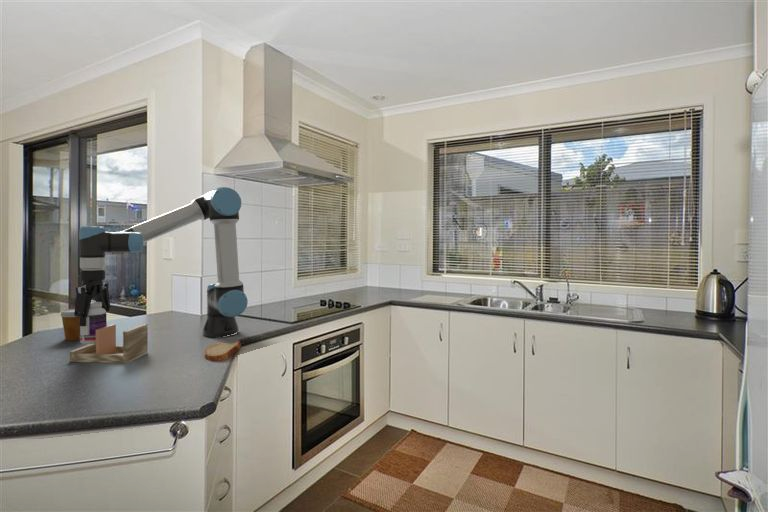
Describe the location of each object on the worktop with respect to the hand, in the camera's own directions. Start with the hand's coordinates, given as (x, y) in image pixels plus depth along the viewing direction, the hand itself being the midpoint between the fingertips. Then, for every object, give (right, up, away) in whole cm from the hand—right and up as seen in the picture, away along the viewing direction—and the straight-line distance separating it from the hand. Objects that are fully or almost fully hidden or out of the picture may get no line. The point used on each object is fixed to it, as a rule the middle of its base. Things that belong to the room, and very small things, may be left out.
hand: (93, 332), depth 152 cm
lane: (+6, -9, 0) cm, 11 cm away
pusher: (+4, -8, 0) cm, 9 cm away
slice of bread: (+44, -10, +9) cm, 46 cm away
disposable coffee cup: (-25, -8, +25) cm, 36 cm away
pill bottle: (0, -4, 0) cm, 4 cm away
